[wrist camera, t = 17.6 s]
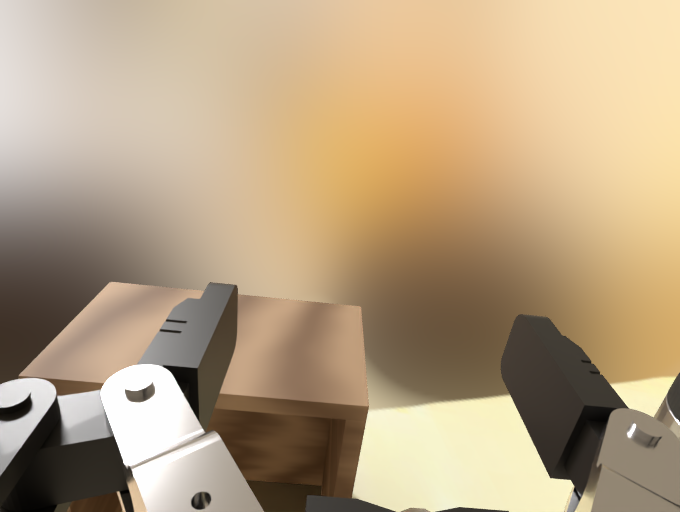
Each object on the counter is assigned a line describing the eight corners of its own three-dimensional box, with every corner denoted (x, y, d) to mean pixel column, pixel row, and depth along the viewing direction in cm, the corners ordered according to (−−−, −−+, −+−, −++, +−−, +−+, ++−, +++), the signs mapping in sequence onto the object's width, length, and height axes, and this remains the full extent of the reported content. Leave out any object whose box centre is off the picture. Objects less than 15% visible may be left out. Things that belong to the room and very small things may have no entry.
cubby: (333, 476, 44) (360, 306, 36) (331, 599, 34) (368, 406, 26) (132, 460, 43) (110, 281, 35) (70, 582, 33) (18, 375, 25)
